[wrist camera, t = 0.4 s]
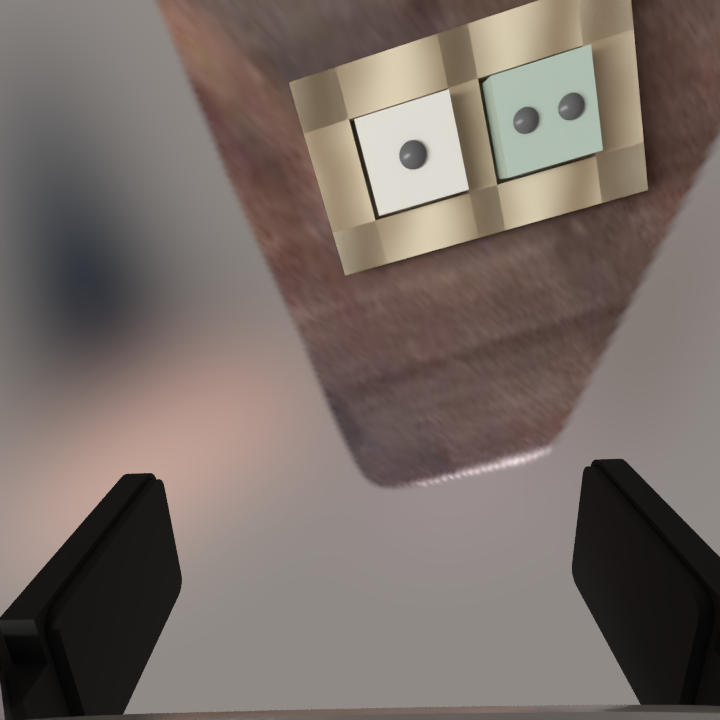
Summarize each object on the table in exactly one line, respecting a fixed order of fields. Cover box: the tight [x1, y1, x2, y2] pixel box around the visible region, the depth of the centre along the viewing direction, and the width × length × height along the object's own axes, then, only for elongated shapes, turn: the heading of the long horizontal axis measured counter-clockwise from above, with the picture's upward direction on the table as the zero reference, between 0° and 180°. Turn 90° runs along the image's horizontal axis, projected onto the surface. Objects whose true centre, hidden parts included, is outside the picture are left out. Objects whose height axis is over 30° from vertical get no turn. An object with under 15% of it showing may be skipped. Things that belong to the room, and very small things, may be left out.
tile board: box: [289, 0, 648, 276], centre depth 32 cm, size 20×12×3 cm, turn 106°
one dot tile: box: [354, 89, 469, 216], centre depth 30 cm, size 6×6×2 cm
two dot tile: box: [482, 44, 603, 179], centre depth 29 cm, size 6×6×2 cm
